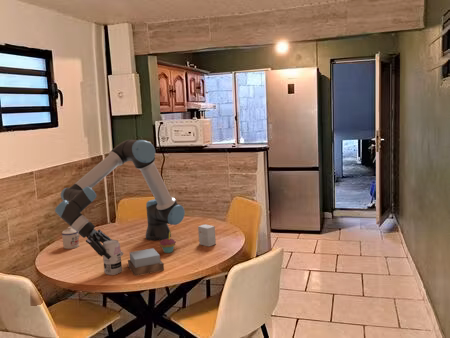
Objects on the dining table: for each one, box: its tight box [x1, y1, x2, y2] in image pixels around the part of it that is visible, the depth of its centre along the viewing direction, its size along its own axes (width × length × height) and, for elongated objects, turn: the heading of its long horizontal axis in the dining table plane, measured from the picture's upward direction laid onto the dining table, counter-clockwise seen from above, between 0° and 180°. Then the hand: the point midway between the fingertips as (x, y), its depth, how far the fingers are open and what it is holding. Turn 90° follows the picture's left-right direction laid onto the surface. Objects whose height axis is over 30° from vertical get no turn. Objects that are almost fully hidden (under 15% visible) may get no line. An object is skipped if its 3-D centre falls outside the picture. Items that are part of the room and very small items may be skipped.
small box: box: [197, 224, 217, 247], centre depth 247 cm, size 8×6×10 cm
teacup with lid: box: [61, 226, 80, 250], centre depth 255 cm, size 12×9×12 cm
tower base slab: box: [127, 259, 165, 277], centre depth 215 cm, size 14×14×4 cm
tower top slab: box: [129, 247, 161, 268], centre depth 214 cm, size 12×12×4 cm
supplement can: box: [102, 239, 123, 276], centre depth 211 cm, size 8×8×15 cm
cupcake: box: [159, 231, 176, 254], centre depth 237 cm, size 9×8×12 cm
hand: (119, 258), depth 210 cm, fingers closed on supplement can, 8 cm apart
